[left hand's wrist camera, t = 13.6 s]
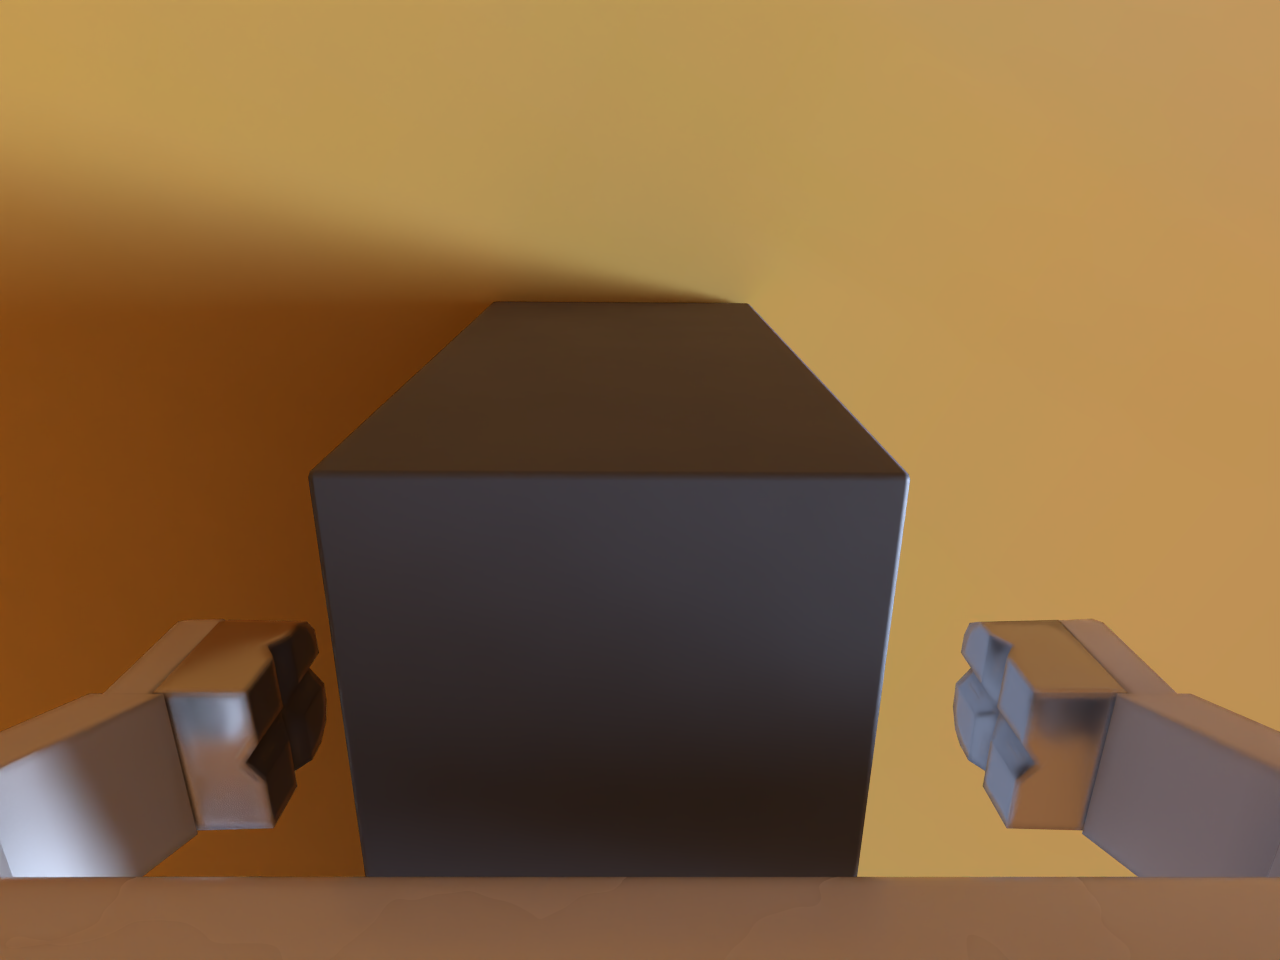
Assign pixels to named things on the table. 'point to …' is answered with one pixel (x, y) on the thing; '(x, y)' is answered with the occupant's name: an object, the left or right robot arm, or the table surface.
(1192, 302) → the table surface
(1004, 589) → the table surface
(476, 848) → the bar
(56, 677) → the table surface
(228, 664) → the left robot arm
